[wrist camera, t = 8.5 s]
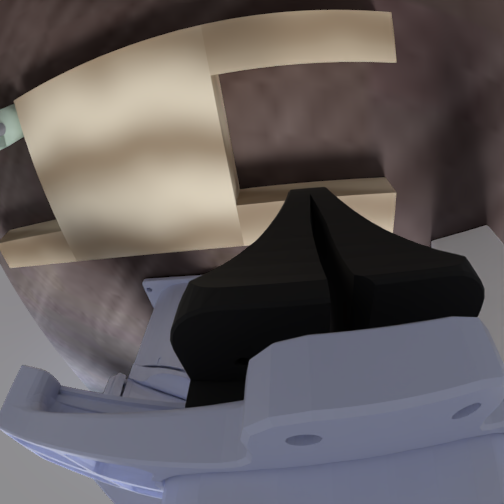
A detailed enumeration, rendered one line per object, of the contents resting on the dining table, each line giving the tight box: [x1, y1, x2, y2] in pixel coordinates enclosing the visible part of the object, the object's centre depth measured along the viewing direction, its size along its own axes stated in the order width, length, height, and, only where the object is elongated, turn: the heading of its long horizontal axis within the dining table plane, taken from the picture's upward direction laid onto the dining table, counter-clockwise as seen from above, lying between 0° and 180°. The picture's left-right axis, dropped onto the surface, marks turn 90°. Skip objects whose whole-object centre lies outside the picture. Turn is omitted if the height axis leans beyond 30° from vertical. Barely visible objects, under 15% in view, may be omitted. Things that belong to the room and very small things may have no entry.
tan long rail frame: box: [0, 10, 396, 268], centre depth 19 cm, size 14×34×2 cm, turn 99°
